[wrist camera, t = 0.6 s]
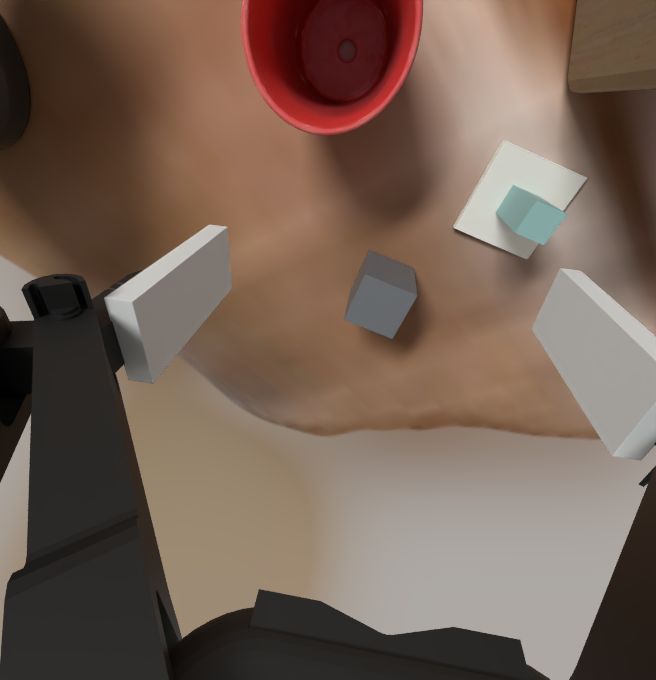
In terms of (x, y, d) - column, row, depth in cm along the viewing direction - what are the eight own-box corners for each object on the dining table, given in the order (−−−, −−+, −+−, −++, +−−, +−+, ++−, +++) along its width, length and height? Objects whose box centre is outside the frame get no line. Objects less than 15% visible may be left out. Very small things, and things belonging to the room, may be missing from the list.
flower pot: (426, 99, 30) (439, 97, 22) (306, 145, 33) (279, 158, 25) (398, -74, 25) (401, -157, 17) (260, 0, 28) (208, -41, 20)
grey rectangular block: (350, 290, 41) (343, 319, 35) (369, 249, 38) (365, 274, 32) (392, 308, 41) (392, 339, 36) (413, 268, 38) (417, 295, 33)
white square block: (453, 226, 35) (464, 250, 30) (502, 139, 31) (528, 147, 25) (525, 257, 36) (550, 286, 30) (584, 176, 32) (627, 192, 26)
